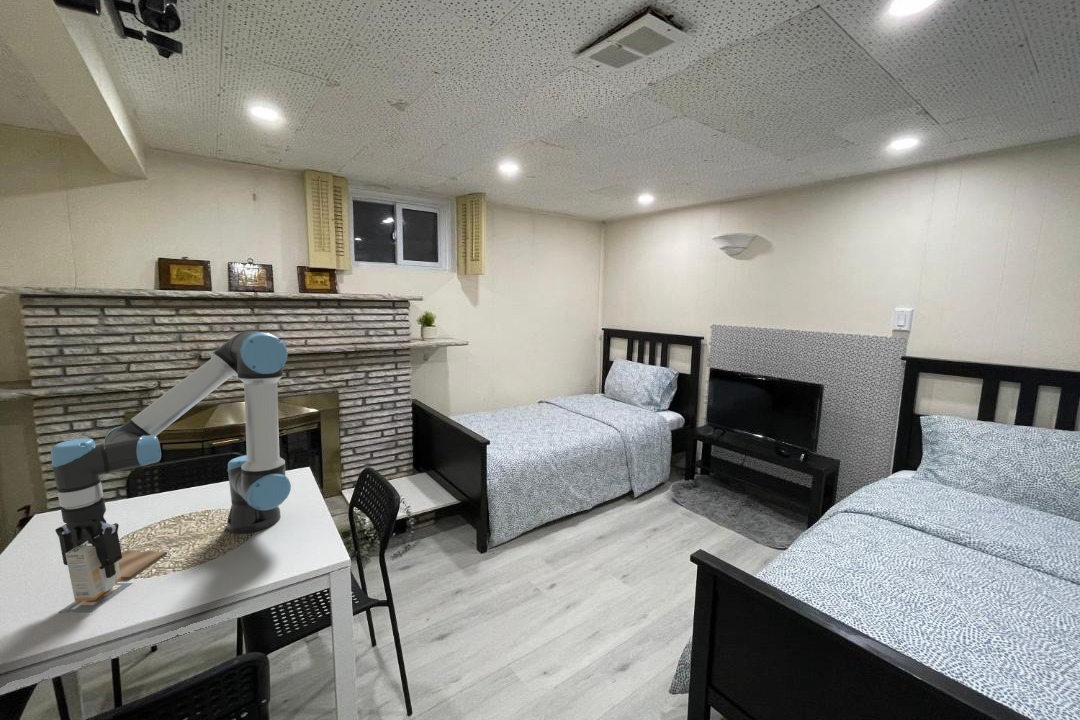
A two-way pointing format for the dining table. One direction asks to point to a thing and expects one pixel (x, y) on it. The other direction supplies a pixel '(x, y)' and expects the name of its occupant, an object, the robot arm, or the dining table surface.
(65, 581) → the dining table surface
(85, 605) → the blue gray tile
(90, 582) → the supplement box
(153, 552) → the coaster
